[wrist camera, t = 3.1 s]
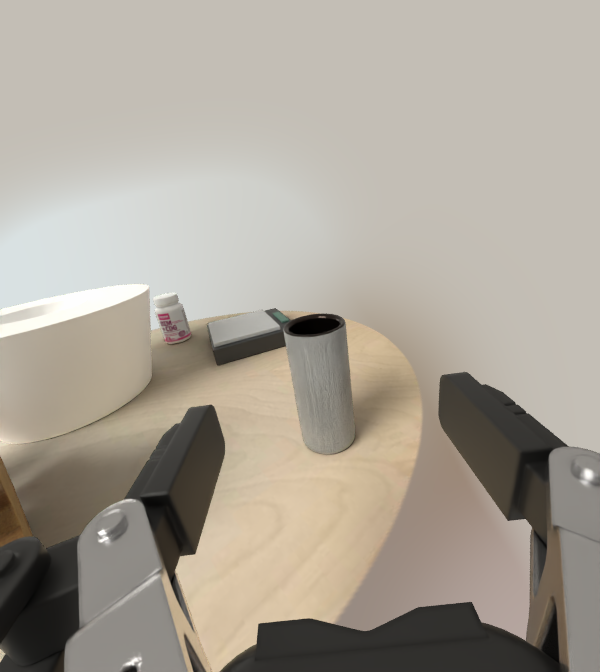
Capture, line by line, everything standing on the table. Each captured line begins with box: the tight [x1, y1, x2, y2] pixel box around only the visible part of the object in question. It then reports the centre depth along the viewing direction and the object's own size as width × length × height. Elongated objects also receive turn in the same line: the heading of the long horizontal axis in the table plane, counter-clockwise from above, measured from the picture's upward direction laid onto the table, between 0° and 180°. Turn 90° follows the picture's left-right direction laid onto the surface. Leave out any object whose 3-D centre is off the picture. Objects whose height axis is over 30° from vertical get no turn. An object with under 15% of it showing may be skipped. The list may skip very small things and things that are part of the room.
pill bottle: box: [153, 293, 191, 344], centre depth 52 cm, size 5×5×8 cm
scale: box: [207, 308, 291, 365], centre depth 48 cm, size 13×13×3 cm
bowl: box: [0, 284, 152, 444], centre depth 36 cm, size 24×24×12 cm
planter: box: [283, 314, 355, 454], centre depth 23 cm, size 4×4×10 cm
